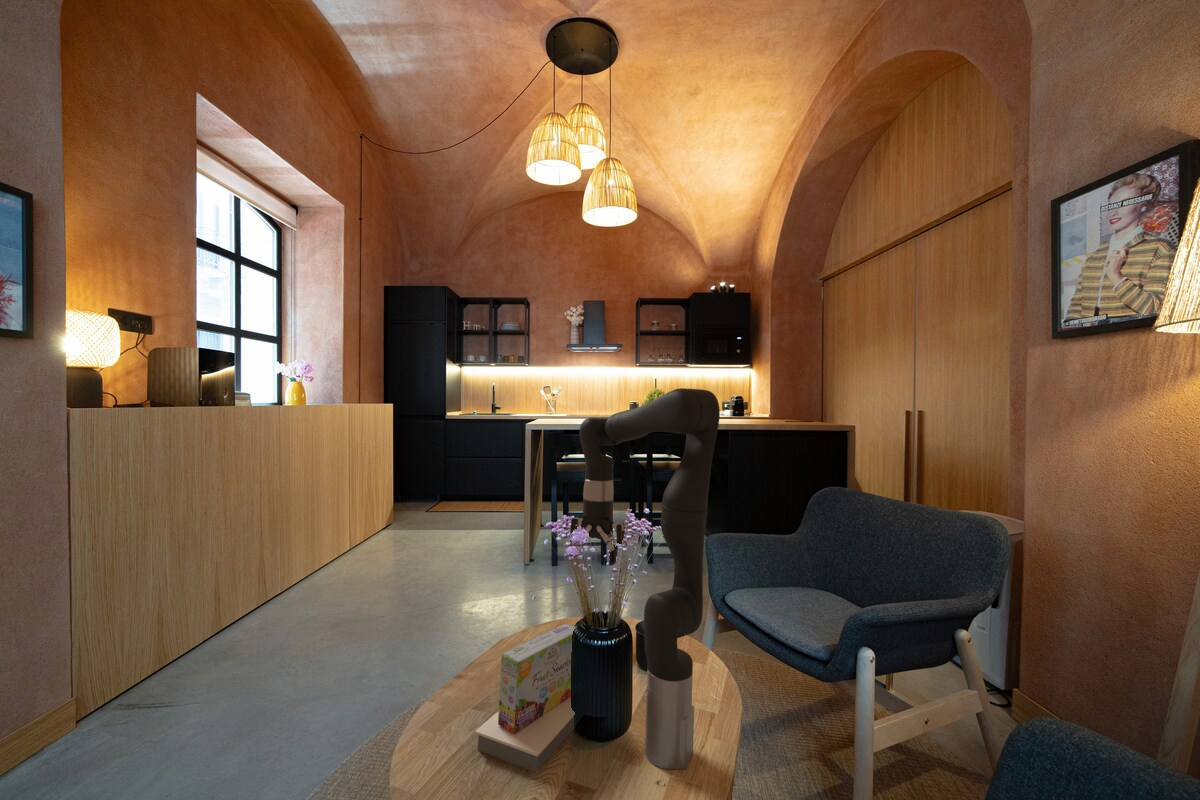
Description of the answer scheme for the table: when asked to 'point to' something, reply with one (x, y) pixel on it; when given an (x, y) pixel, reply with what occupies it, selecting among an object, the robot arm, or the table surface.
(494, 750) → the display podium
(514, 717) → the snack box
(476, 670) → the table surface
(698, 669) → the table surface
